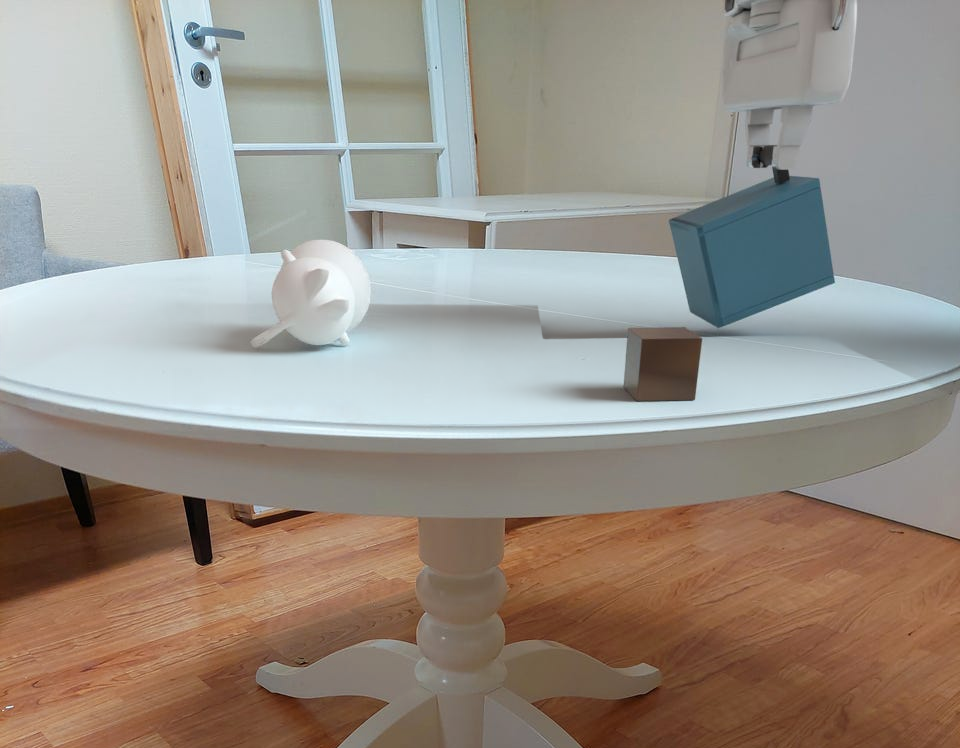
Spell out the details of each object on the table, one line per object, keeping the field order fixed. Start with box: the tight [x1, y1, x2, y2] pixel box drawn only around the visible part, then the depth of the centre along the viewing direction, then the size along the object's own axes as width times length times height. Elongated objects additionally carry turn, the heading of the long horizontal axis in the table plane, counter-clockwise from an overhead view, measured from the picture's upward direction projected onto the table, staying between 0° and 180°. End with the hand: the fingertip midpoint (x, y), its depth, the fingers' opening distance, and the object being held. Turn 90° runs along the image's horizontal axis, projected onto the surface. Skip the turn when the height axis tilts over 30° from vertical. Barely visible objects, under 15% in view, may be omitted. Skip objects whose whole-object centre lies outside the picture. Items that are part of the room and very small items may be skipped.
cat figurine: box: [250, 238, 372, 349], centre depth 75 cm, size 9×11×12 cm
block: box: [623, 326, 703, 402], centre depth 60 cm, size 4×4×4 cm
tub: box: [668, 144, 836, 329], centre depth 82 cm, size 12×9×11 cm
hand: (769, 168), depth 79 cm, fingers closed on tub, 5 cm apart
